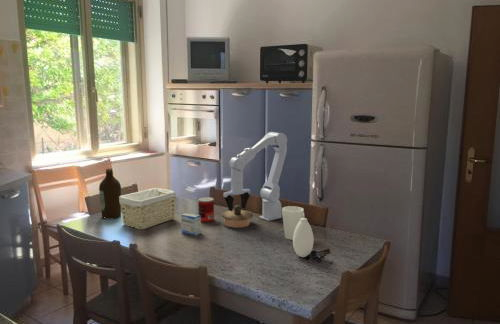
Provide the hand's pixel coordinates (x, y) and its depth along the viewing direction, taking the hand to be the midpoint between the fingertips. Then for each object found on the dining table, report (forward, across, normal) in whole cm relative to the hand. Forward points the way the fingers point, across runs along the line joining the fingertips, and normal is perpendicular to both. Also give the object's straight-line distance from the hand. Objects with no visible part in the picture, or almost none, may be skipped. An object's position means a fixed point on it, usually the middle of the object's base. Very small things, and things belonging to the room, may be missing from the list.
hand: (237, 209), depth 206 cm
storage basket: (+8, +33, -28) cm, 44 cm away
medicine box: (+8, +25, -1) cm, 26 cm away
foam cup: (+7, -8, +31) cm, 33 cm away
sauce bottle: (+7, +4, +50) cm, 51 cm away
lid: (+3, 0, 0) cm, 3 cm away
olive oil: (+7, +45, -49) cm, 67 cm away
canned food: (+7, +9, -14) cm, 18 cm away
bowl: (+7, 0, 0) cm, 7 cm away
